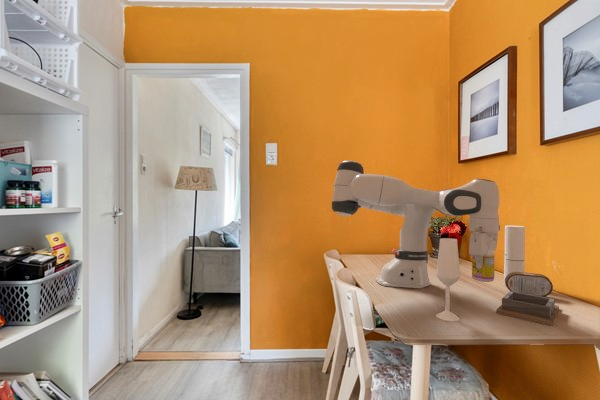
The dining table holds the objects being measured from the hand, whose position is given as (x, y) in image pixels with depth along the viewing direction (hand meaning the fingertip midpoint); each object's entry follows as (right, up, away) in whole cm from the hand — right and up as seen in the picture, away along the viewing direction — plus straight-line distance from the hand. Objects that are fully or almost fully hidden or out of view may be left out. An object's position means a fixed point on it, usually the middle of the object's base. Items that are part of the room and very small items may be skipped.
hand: (482, 266), depth 110 cm
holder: (+12, -13, -5) cm, 19 cm away
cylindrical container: (+29, -14, +27) cm, 42 cm away
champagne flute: (-17, -13, -11) cm, 25 cm away
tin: (+24, -14, +12) cm, 30 cm away
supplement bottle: (0, -5, 0) cm, 5 cm away
